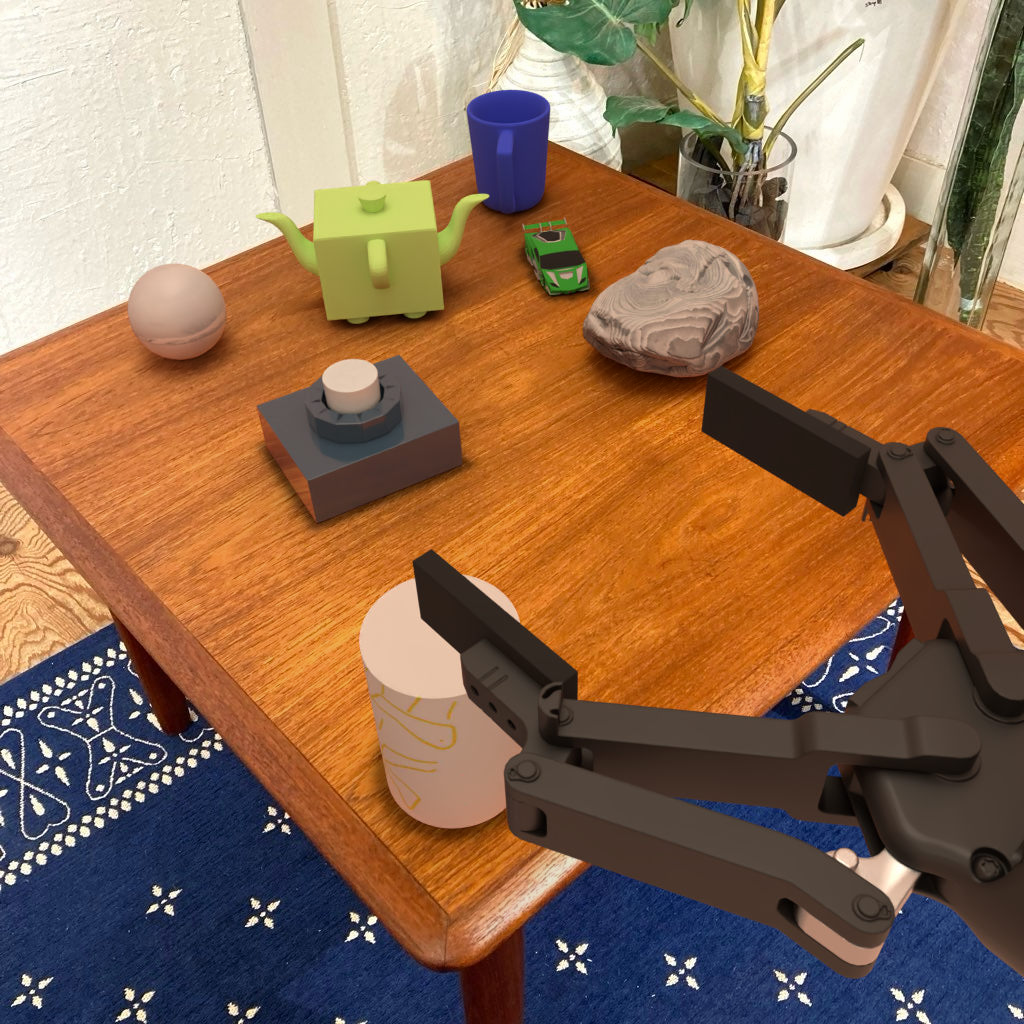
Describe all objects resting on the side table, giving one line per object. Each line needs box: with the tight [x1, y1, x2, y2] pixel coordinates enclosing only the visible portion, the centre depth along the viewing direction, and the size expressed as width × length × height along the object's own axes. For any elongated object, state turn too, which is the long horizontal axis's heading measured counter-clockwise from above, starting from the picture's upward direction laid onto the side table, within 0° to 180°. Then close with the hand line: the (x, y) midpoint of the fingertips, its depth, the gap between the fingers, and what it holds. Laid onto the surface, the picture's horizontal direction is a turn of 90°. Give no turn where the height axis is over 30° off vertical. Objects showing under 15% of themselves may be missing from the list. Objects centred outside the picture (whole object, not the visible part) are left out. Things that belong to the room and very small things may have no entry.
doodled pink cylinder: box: [358, 574, 522, 829], centre depth 58 cm, size 8×8×12 cm
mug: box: [466, 89, 551, 215], centre depth 106 cm, size 8×12×10 cm
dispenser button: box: [321, 358, 381, 414], centre depth 78 cm, size 4×4×2 cm
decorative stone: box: [582, 239, 760, 378], centre depth 89 cm, size 15×14×10 cm
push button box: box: [256, 354, 464, 524], centre depth 80 cm, size 12×10×6 cm
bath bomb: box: [127, 262, 228, 361], centre depth 90 cm, size 8×8×8 cm
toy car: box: [521, 217, 590, 296], centre depth 100 cm, size 10×5×2 cm, turn 13°
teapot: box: [255, 179, 489, 325], centre depth 94 cm, size 15×13×11 cm
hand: (579, 483), depth 37 cm, fingers open, 13 cm apart
